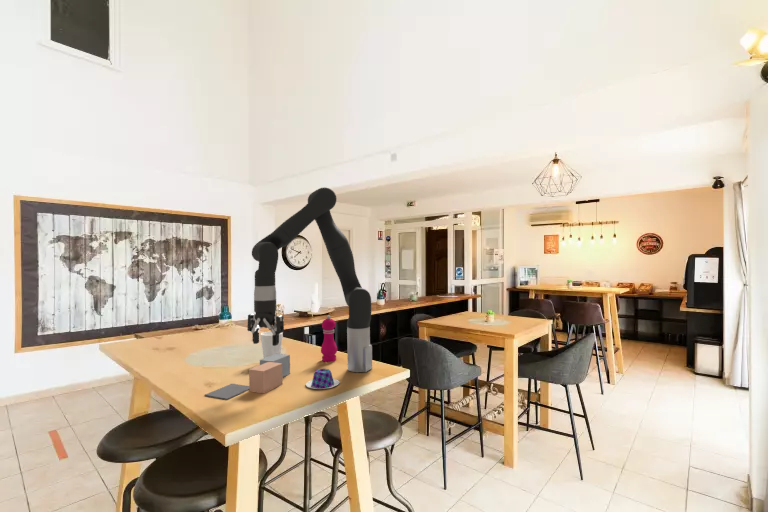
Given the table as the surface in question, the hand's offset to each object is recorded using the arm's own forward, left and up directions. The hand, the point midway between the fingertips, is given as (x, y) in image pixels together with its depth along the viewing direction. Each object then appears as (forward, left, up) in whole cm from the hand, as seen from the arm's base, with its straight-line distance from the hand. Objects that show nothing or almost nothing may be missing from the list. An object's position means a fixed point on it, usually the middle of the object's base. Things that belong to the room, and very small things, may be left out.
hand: (265, 344), depth 134 cm
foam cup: (+19, -26, -16) cm, 36 cm away
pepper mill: (-2, -39, -16) cm, 42 cm away
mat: (+9, +8, -15) cm, 19 cm away
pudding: (-17, -10, -16) cm, 25 cm away
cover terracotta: (0, 0, -15) cm, 15 cm away
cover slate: (+5, -11, -15) cm, 19 cm away
